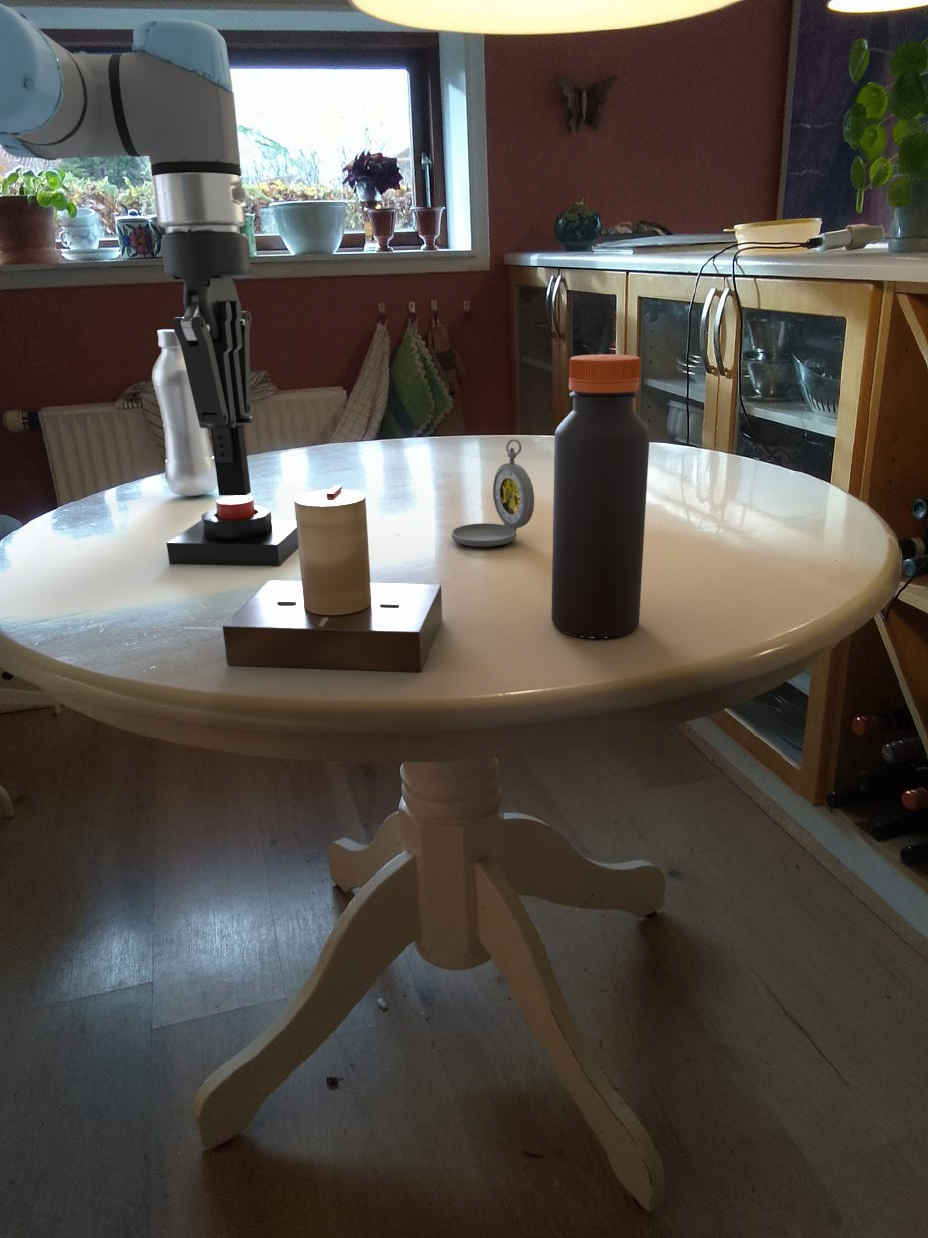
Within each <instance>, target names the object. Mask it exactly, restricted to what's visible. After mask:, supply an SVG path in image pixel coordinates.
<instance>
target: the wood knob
mask: <svg viewBox="0 0 928 1238" xmlns="http://www.w3.org/2000/svg"><path fill="white" fill-rule="evenodd" d="M293 502H294V514H295V520H296V526H297V537H298V557H299V558H298V559H299V569H300V581H302V592H303V604H304V608H305V609H306V610H307V611H309V612H311V613H315V614H320V615H344V614H350V613H355V612H358V611H361V610H363V609H365V608H367V607H368V606H370V604H371V602H372V598H371V583H372V582H371V567H370V566H371V565H370V551H369V533H368V517H367V516H368V515H367V501H366V494H364V493H363V492H360V491H358V490H350V489H343V486H342V485H333V486H332V487H331V488H330V489H322V490H314V491H309V492H305V493H302V494H299V495H297V496H295V498H294V500H293Z"/></svg>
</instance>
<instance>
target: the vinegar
mask: <svg viewBox="0 0 928 1238" xmlns="http://www.w3.org/2000/svg"><path fill="white" fill-rule="evenodd" d="M641 361H642V358H641V357H640V356H637V355H630V354H615V353H614V354H611V353H609V354H607V353H606V354H605V353H604V354H603V353H601V354H600V353H599V354H581V355H574V356H571V357H570V358H569V367H568V368H569V371H568V372H569V373H568V375H569V376H568V390H570V393H569V397H570V398H572V402H573V403H572V410H571V411H570V412H569V414H568V415H567V416H566V417H565V418H564V419H563V420H562V421H561V422H560V424H558V426H557V427H556V429H555V432H554V450H553V452H554V453H553V454H554V456H553V457H554V458H553V461H554V462H553V503H552V504H553V506H552V508H553V511H552V512H553V513H552V556H551V558H552V559H551V565H552V566H551V609H550V610H551V612H550V613H551V614H550V615H551V616H550V617H551V618H550V619H551V622H552V624H553V625H554V627H555V628H556V627H557V628H556V629H557V630H559V629H560V630H559V631H561V632H562V631H563V632H562V633H564V632H567V633H569V634H568V635H570V634H572V635H571V636H573V635H576V636H575V637H577V636H583V637H594V638H605V637H615V638H617V637H616V636H619V637H621V636H620V635H624V636H626V635H628V634H630V633H632V632H634V631H635V630H636V629H637V628H638V627H639V624H640V612H641V611H640V610H641V597H642V596H641V595H642V578H643V577H642V576H643V562H644V561H643V560H644V558H643V557H644V542H645V526H646V525H645V524H646V509H647V508H646V507H647V491H648V490H647V489H648V473H649V457H650V456H649V455H650V440H651V437H650V436H651V433H650V428H649V427H648V425H647V424H646V423H645V422H644V420H642V418H641V417H640V416H639V415H638V413H637V412H636V411H635V410H634V403H635V402H634V400H635V398H637V397H638V396H639V392H636V391H638V390H640V377H641ZM629 632H630V633H629ZM567 633H566V634H567ZM627 633H628V634H627ZM625 634H626V635H625ZM583 637H582V638H583ZM605 639H606V638H605Z"/></svg>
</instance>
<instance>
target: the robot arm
mask: <svg viewBox="0 0 928 1238" xmlns="http://www.w3.org/2000/svg"><path fill="white" fill-rule="evenodd" d="M132 40H133V43H132V45H131V51H132V52H122V53H113V54H104V53H103V54H100V53H99V54H98V53H96V54H94V53H72V52H70V51H69V50H68V49H66V48H65V47H64V46H62V45H60V43H58V42H57V41H55V40H54V39H52V38H51V37H50V36H49V35H47V34H45V32H43V31H42V30H41V29H40V28H38V26H37V25H36V24H35V22H33V21H32V20H31V19H30V18H29V17H27V16H25V15H24V14H23V13H21V12H19V11H18V10H16V9H15V8H13V7H11V6H9V5H8V4H6V3H4V2H2V1H0V147H1V148H2V150H4V151H5V152H6V153H7V154H9V155H10V156H13V157H16V158H21V159H24V158H25V159H27V158H28V159H43V160H46V161H50V162H51V161H57V160H58V159H77V158H79V159H80V158H107V157H109V158H110V157H132V158H140V157H148V159H149V162H150V171H151V172H150V173H151V176H152V177H151V179H152V189H153V195H154V205H155V213H156V221H157V225H158V226H159V227H160V228H163V229H165V232H166V233H165V234H162V238H160V247H161V252H162V253H161V254H162V261H163V267H164V268H163V269H164V274H165V276H166V277H167V278H168V279H169V280H182V282H183V296H182V298H183V299H182V300H183V301H182V302H183V310H184V312H183V313H184V315H183V316H182V317H181V316H176V317H175V316H174V317H173V319H172V327H173V329H174V331H175V333H176V335H177V338H178V340H179V342H180V345H181V349H182V353H183V357H184V362H185V366H186V370H187V374H188V379H189V383H190V387H191V391H192V396H193V400H194V404H195V408H196V413H197V417H198V421H199V426H200V427H201V428H208V429H210V435H211V442H212V452H213V457H214V459H215V467H216V475H217V483H218V484H217V490H218V496H229V497H230V496H248V495H249V494H251V493H252V490H251V489H252V488H251V479H250V471H249V470H250V469H249V463H248V462H249V461H248V454H247V453H248V452H247V444H246V435H245V427H244V425H245V424H247V425H250V424H253V422H254V415H252V416H251V415H250V414H251V412H252V397H251V396H252V395H251V394H252V393H251V392H252V390H251V389H252V388H251V357H250V356H251V355H250V352H251V351H250V333H251V323H252V316H251V313H250V311H249V310H242V305H241V302H240V300H239V299H240V298H239V295H238V292H237V287H236V283H235V279H246V278H248V277H250V276H251V274H252V262H251V254H250V253H251V252H250V244H249V243H250V241H249V237H248V236H247V235H246V234H245V233H242V232H241V228H242V227H244V226H245V225H246V224H247V223H246V212H245V210H246V209H245V203H244V200H245V201H246V200H247V199H248V198H249V192H248V190H247V188H246V187H243V182H242V181H243V180H242V169H241V158H240V148H239V147H240V145H239V137H238V136H239V135H238V123H237V113H236V112H237V111H236V101H235V97H236V96H235V89H234V87H233V82H232V76H231V69H230V63H229V55H228V54H229V53H228V47H227V43H226V40H225V38H224V37H223V36H222V35H221V33H220V32H219V31H218V30H217V29H215V27H213V26H211V25H209V24H206V23H203V22H200V21H196V20H191V19H182V18H158V19H157V20H151V19H149V20H145V21H142V22H140V23H138V24H137V25H136V26H135V27H134V29H133V31H132ZM246 415H247V416H246ZM248 415H249V416H248Z"/></svg>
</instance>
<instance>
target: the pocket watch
mask: <svg viewBox="0 0 928 1238" xmlns="http://www.w3.org/2000/svg"><path fill="white" fill-rule="evenodd" d="M512 442H516V443H517V444H518V450H517V452H516V451H515V448H514V447H510V448H509V445H510V444H511V443H512ZM505 445H506V447H505V450H506V453H507V457H508V458H509V462H506V463H504V464H501V465H500V466H499V468H497V470H496V472H495V475H494V478H493V482H492V497H493V503H494V507H495V510H496V513H497V514H498V517H499V518H500V520H501V521H502V523H503V524H501V523H490V522H488V523H487V522H483V523H482V522H480V523H479V522H478V523H471V524H470V523H469V524H464V525H460V526H457V527H455V528H453V529H452V531H451V538H452V540H453V541H454V542H456V544H461V545H463V546H467V547H475V548H476V547H477V548H488V547H492V548H493V547H499V546H503V545H507V544H509V543H511V542H513V541H515V539H516V538H517V530H518V529H520V528H522V527H524V526H526V525H527V524H528V523H529V522H530V521H531V518H532V517H533V514H534V510H535V493H534V487H533V483H532V480H531V478H530V476H529V474H528V472H527V471H526V470H525V468H524V467H522V466H521V465H520V464H517V463H516V461H515V458H516V457H517V456H519V454H520V453H521V451H522V444H521V442H520V440H518V439H516V438H511V439H510V440H508V441H507V443H506V444H505Z"/></svg>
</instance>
